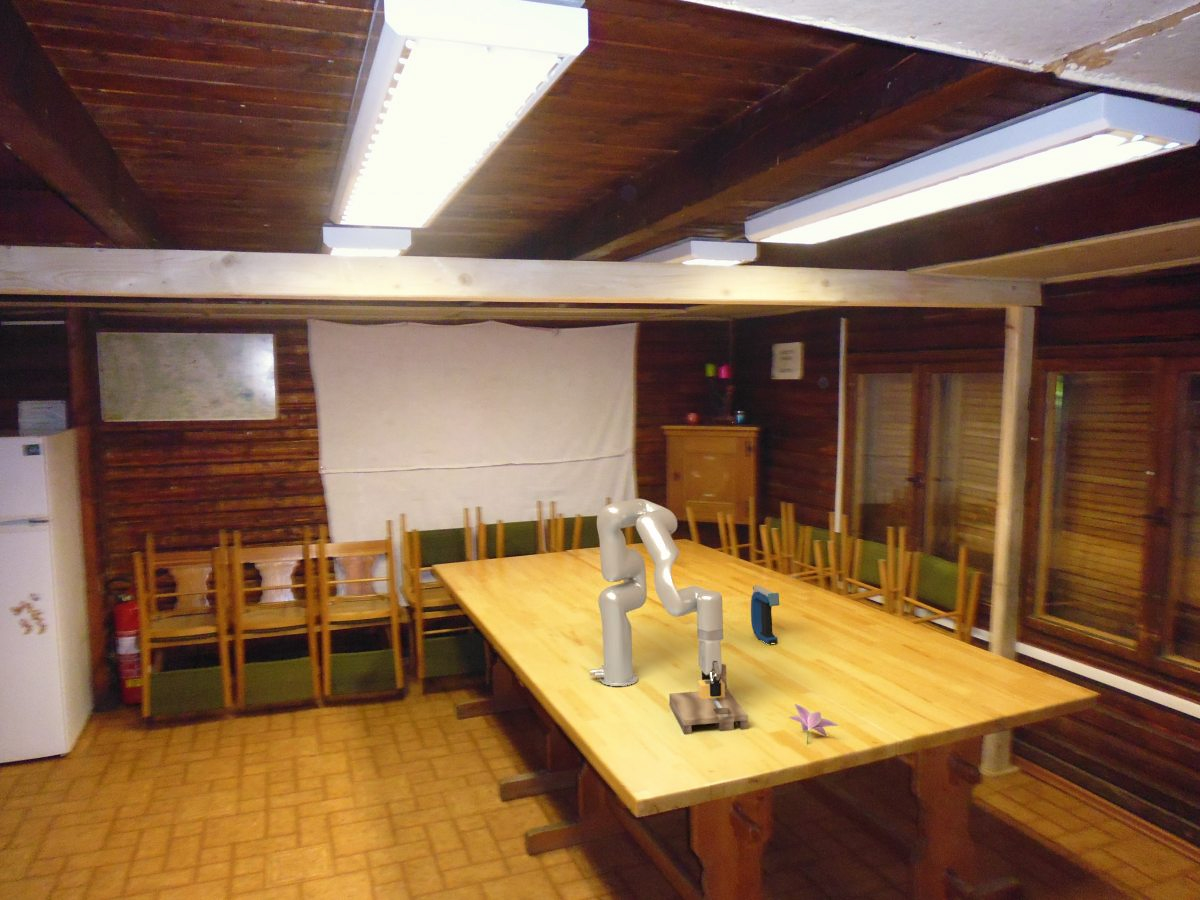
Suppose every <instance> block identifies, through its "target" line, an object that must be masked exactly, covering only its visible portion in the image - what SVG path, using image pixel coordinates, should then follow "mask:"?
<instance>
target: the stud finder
mask: <svg viewBox="0 0 1200 900" xmlns="http://www.w3.org/2000/svg"><path fill="white" fill-rule="evenodd" d="M710 683H711V680H702V679H700V680H699V679H698V680H697V691H698V694H699V695H700V697H701V698H702V699H709V698H722V697H725V684H724V682H723V681H722V680H721V696H714V697H711V696H710Z"/></svg>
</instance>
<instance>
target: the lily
mask: <svg viewBox="0 0 1200 900" xmlns="http://www.w3.org/2000/svg"><path fill="white" fill-rule="evenodd" d="M794 707H795V709H796V711H797V713H798V715H791V716H790V715H789V716H788V719H790V720H791V719H792V720H794V721H796V722H799V723H800V724H801V726H800V727H801V730H802V731H804V732H805V731H807V736H806V745H809V734H810V731H811V730H814V731H817V732H818V733H820V734H821V735H823V736H825V737H827V731H826V730H825V728H826V727H837V726H838V723H836V722H835V721H833V720H830V719H827V718H823V717H822V713H821V712H820V711H815V712H812V713H811V712H810V711H809V710H808V709H807V708H805V707H804V706H802V705H799V704H797V703H795V704H794Z"/></svg>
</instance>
